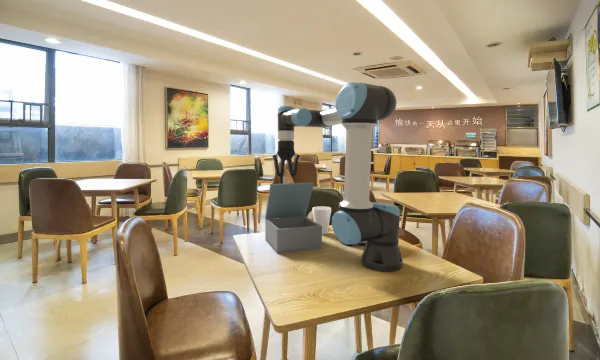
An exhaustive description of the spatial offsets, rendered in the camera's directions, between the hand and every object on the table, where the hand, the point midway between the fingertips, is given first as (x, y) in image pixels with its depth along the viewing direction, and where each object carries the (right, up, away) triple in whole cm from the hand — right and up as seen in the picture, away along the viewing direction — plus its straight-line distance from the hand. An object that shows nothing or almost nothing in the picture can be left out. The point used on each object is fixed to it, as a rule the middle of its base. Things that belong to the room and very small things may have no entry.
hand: (286, 190), depth 152 cm
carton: (+3, -24, -7) cm, 25 cm away
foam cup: (+18, -22, +12) cm, 31 cm away
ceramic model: (+14, -21, +26) cm, 37 cm away
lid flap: (+2, -5, -4) cm, 7 cm away
